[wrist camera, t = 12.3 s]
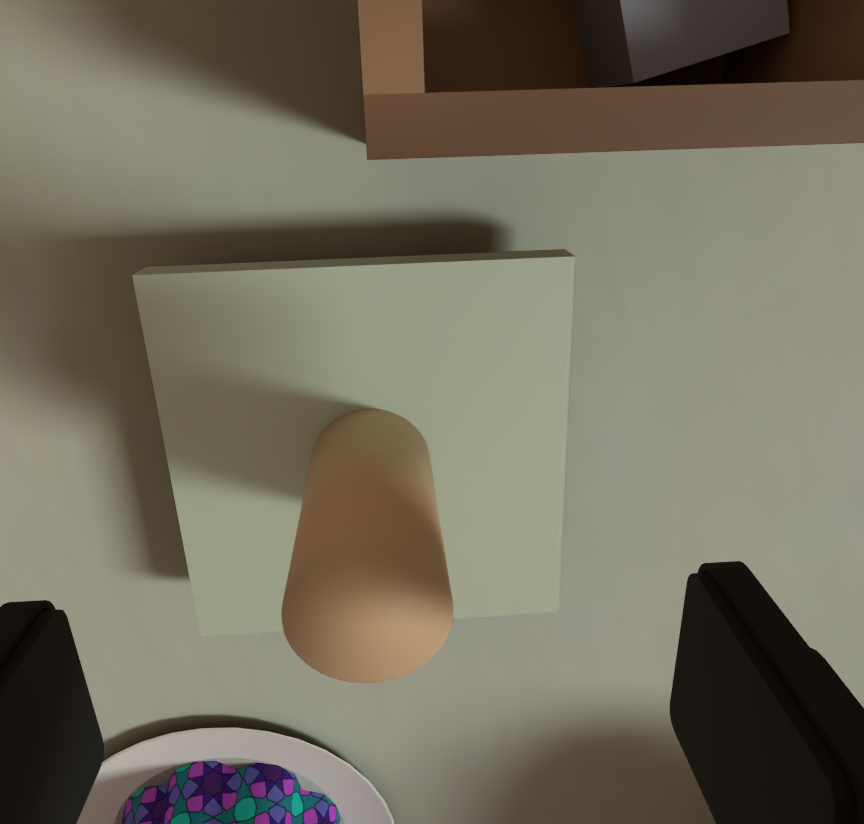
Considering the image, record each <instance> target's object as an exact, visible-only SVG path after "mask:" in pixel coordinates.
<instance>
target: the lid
mask: <svg viewBox="0 0 864 824" xmlns="http://www.w3.org/2000/svg"><path fill="white" fill-rule="evenodd" d="M574 271H575V256H574V255H572V254H571V253H569V252H568V251H566V250H565V249H558V250H534V251H511V252H487V253H463V254H440V255H416V256H392V257H369V258H345V259H322V260H298V261H274V262H251V263H227V264H203V265H180V266H156V267H145V268H143V269H142V270H140V271H138V272H137V273H135V274H133V275H132V278H133V283H134V288H135V293H136V299H137V304H138V309H139V314H140V320H141V325H142V330H143V335H144V341H145V346H146V351H147V357H148V362H149V367H150V372H151V378H152V383H153V388H154V393H155V399H156V404H157V409H158V414H159V420H160V425H161V430H162V435H163V441H164V446H165V451H166V456H167V462H168V467H169V472H170V477H171V483H172V488H173V493H174V498H175V504H176V509H177V514H178V520H179V525H180V530H181V535H182V541H183V546H184V551H185V556H186V562H187V567H188V572H189V577H190V583H191V588H192V593H193V598H194V604H195V609H196V614H197V619H198V625H199V630H200V635H201V637H207V636H222V635H236V634H250V633H264V632H278V631H284V633H285V636H286V638H287V640H288V642H289V644H290V646H291V647H292V649H293V650H294V651H295V653H296V654H297V655H298V656H299V657H300V658H301V659H302V660H303V661H304V662H305V663H306V664H308V665H309V666H310V667H312V668H313V669H315V670H317V671H319V672H320V673H322V674H325V675H327V676H329V677H332V678H335V679H338V680H342V681H347V682H354V683H377V682H384V681H389V680H393V679H396V678H399V677H402V676H405V675H407V674H409V673H411V672H413V671H415V670H417V669H418V668H420V667H422V666H423V665H424V664H426V663H427V662H428V661H429V660H431V659H432V658H433V657H434V656H435V655H436V654H437V653H438V651H439V650H440V649H441V647H442V646H443V644H444V643H445V641H446V639H447V637H448V635H449V632H450V630H451V626H452V622H453V619H463V618H477V617H492V616H506V615H520V614H534V613H548V612H559V593H560V572H561V550H562V529H563V507H564V486H565V464H566V443H567V421H568V400H569V378H570V357H571V335H572V314H573V292H574Z"/></svg>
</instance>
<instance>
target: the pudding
mask: <svg viewBox="0 0 864 824" xmlns="http://www.w3.org/2000/svg"><path fill="white" fill-rule="evenodd" d="M212 758H243V759H252V760H259V761H263V762H267V763H271V764H276V765H270V764H264V763H254V764H251V765H248V766H245V767H242V768H239V769H233V768H231V767H229V766H226V765H224V764H222V763H219V762H217V761H205V762H193V761H198V760H205V759H212ZM189 762H193V763H191V764H188V765H186V766H183V767H181V768H178V769H176V770H175V771H174V773H173V775H172V776H171V778H170V780H169V781H168V783H167V785H161V786H153V787H145V788H142V789H141V790H140V791H138V792H137V793H136V794H134V795H133V796H132V797H130V798H129V800H128V803H127V805H126V807H125V809H124V811H123V819H122V824H339V822H340V816H339V813H338V810H339V812H340V814H341V816H342V818H343V821H344V824H394V820H393V817H392V815H391V813H390V811H389V809H388V807H387V805H386V803H385V801H384V799H383V798H382V797H381V795H380V794H379V793H378V791H377V790H376V789H375V788H374V786H373V785H372V784H371V783H370V781H369V780H367V779H366V778H365V777H364V776H363V775H362V774H360V773H359V772H358V771H357V770H356V769H355V768H354V767H352V766H351V765H350V764H348V763H347V762H345V761H343V760H342V759H340V758H338V757H337V756H335V755H333V754H332V753H330V752H328V751H327V750H325V749H322V748H320V747H317V746H315V745H312V744H310V743H307V742H305V741H302V740H300V739H297V738H293V737H289V736H285V735H281V734H277V733H273V732H269V731H261V730H253V729H244V728H201V729H194V730H187V731H181V732H174V733H169V734H166V735H162V736H159V737H156V738H152V739H149V740H145V741H142V742H139V743H137V744H135V745H133V746H131V747H129V748H127V749H124V750H122V751H120V752H118V753H116V754H114V755H112V756H111V757H110V758H108V759H107V760H105V761H104V762H102V765H101V768H100V770H99V773H98V775H97V777H96V780H95V782H94V784H93V787H92V789H91V791H90V793H89V796H88V798H87V800H86V803H85V805H84V807H83V810H82V812H81V814H80V816H79V819H78V821H77V823H76V824H114V823H115V820H116V817H117V815H118V812H119V810H120V808H121V807H122V805H123V804H124V802H125V801H126V799H127V798H128V797H129V796H130V795H131V794H132V793H133V792H134V791H135V790H136V789H137V788H138V787H139V786H140V785H142V784H143V783H145V782H146V781H147V780H149V779H150V778H152V777H153V776H155V775H157V774H159V773H161V772H164V771H166V770H168V769H170V768H172V767H175V766H179V765H182V764H186V763H189ZM277 765H279V766H281V767H284V768H286V769H289V770H292V771H294V772H297V773H298V774H300V775H302V776H303V777H305V778H307V779H309V780H310V781H312V782H313V783H315V784H316V785H317V786H318V787H319V788H321V789H322V790H323V791H324V792H325V793H326V794H327V795H328V796H329V797H330V799H331V800H332V801H333V802H334V803H335V804H334V803H333V802H332V801H331V800H330V799H328V798H327V797H326V796H325V795H324V794H321V793H316V792H311V791H306V790H302V789H301V786H300V784H299V782H298V780H297V778H296V776H295V774H293V773H291V772H289V771H287V770H285V769H283V768H281V767H279V766H277ZM336 806H337V807H336ZM337 808H338V810H337Z"/></svg>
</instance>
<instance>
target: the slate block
mask: <svg viewBox="0 0 864 824" xmlns="http://www.w3.org/2000/svg"><path fill="white" fill-rule="evenodd" d="M573 4H574V9H575V14H576V20H577V25H578V30H579V35H580V40H581V46H582V51H583V56H584V61H585V67H586V72H587V77H588V82H589V87H590V88H605V87H612V86H618V85H625V84H631V83H636V82H639V81H642V80H645V79H648V78H651V77H654V76H658V75H661V74H664V73H667V72H670V71H673V70H676V69H679V68H682V67H685V66H689V65H692V64H695V63H698V62H701V61H704V60H707V59H710V58H713V57H716V56H720V55H723V54H726V53H729V52H732V51H735V50H738V49H741V48H744V47H747V46H751V45H754V44H757V43H760V42H763V41H766V40H769V39H772V38H775V37H778V36H782V35H785V34H788V33H790V28H789V17H788V5H787V0H573Z"/></svg>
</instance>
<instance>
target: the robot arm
mask: <svg viewBox="0 0 864 824" xmlns="http://www.w3.org/2000/svg"><path fill="white" fill-rule="evenodd" d="M670 716H671V722H672V726H673V729H674V731H675V734H676V736H677V738H678V740H679V742H680V745H681V747H682V749H683V751H684V753H685V756H686V758H687V760H688V762H689V765H690V767H691V769H692V771H693V773H694V776H695V778H696V780H697V782H698V784H699V787H700V789H701V791H702V793H703V795H704V798H705V800H706V802H707V804H708V806H709V809H710V811H711V813H712V815H713V817H714V820H715V822H716V824H864V708H863V707H862V706H861V704H860V703H859V702H858V701H857V699H856V698H855V697H854V695H853V694H852V693H851V692H850V690H849V689H848V688H847V687H846V685H845V684H844V683H843V681H842V680H841V679H840V678H839V676H838V675H837V674H836V673H835V671H834V670H833V669H832V667H831V666H830V665H829V664H828V662H827V661H826V660H825V659H824V658H823V657H822V656H821V655H820V654H819V653H818V652H817V651H816V650H814V649H812V648H810V647H809V646H808V645H807V643H806V642H805V641H804V640H803V638H802V637H801V636H800V634H799V633H798V632H797V630H796V629H795V628H794V627H793V625H792V624H791V623H790V621H789V620H788V619H787V618H786V616H785V615H784V614H783V612H782V611H781V610H780V608H779V607H778V606H777V605H776V603H775V602H774V601H773V599H772V598H771V597H770V596H769V594H768V593H767V592H766V590H765V589H764V588H763V586H762V585H761V584H760V583H759V581H758V580H757V579H756V577H755V576H754V575H753V573H752V572H751V571H750V570H749V568H748V567H747V566H746V565H745V564H744V563H743V562H740V561H734V562H717V563H704V564H702V565H701V566H700V568H699V570H698V573H694V574H690V576H689V577H688V581H687V587H686V594H685V601H684V608H683V615H682V622H681V629H680V636H679V643H678V650H677V657H676V665H675V672H674V679H673V686H672V693H671V700H670ZM103 754H104V744H103V739H102V735H101V732H100V728H99V725H98V722H97V718H96V715H95V711H94V708H93V704H92V701H91V697H90V694H89V691H88V687H87V684H86V680H85V677H84V673H83V670H82V667H81V663H80V660H79V656H78V653H77V649H76V646H75V642H74V639H73V636H72V632H71V629H70V625H69V622H68V618H67V616H66V614H65V612H64V611H63V610H55V607H54V605H53V604H52V603H51V602H50V601H46V600H42V601H25V602H8V603H6V604H3V605H2V606H1V607H0V824H76V823H77V821H78V819H79V816H80V814H81V812H82V810H83V807H84V805H85V803H86V800H87V798H88V796H89V793H90V791H91V789H92V787H93V784H94V782H95V780H96V777H97V775H98V773H99V770H100V768H101V765H102V761H103Z"/></svg>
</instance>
